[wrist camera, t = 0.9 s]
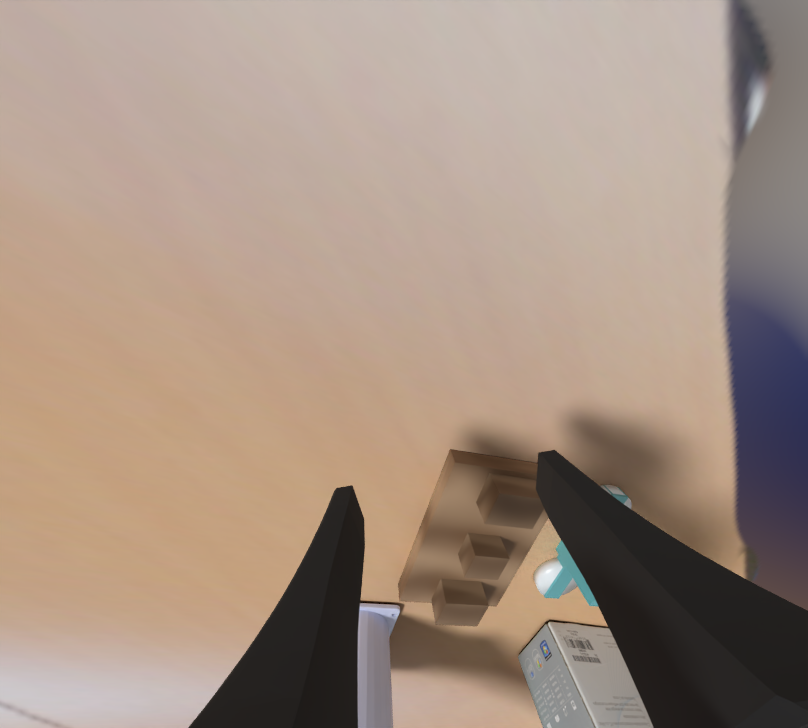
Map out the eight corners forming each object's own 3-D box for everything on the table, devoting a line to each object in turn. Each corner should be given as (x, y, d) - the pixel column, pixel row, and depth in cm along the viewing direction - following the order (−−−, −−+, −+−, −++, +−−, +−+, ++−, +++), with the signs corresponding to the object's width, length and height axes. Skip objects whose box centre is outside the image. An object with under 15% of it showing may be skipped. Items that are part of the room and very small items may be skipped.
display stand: (490, 590, 31) (504, 630, 28) (398, 584, 29) (401, 626, 26) (559, 466, 25) (587, 499, 22) (450, 449, 23) (462, 482, 20)
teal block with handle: (563, 587, 32) (595, 645, 28) (526, 584, 31) (552, 644, 27) (632, 488, 27) (684, 538, 23) (589, 481, 26) (635, 532, 22)
